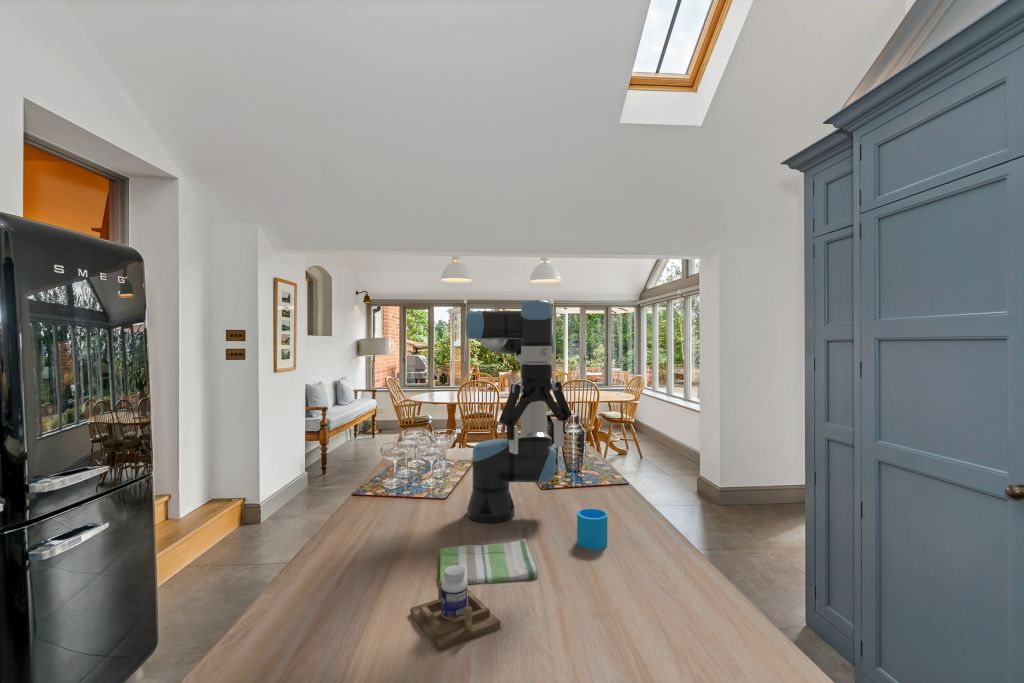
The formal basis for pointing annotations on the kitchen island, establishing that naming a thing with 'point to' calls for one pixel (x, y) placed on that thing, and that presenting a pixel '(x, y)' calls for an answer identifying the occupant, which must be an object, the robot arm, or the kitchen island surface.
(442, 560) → the dish towel
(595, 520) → the mug
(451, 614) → the pill bottle
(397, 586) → the kitchen island surface
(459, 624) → the cradle
